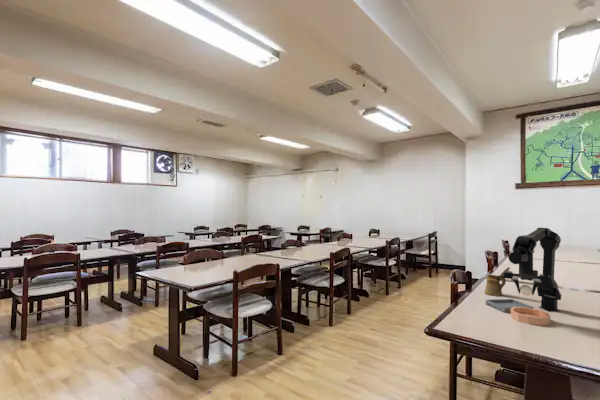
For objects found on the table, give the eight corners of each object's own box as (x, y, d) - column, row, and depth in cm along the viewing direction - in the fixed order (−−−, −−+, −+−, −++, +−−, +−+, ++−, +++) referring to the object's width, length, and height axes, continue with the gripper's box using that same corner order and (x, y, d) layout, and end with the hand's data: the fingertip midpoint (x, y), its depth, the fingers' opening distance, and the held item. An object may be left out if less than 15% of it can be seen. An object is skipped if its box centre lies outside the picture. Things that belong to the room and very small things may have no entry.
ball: (526, 293, 159) (526, 283, 159) (535, 296, 154) (535, 286, 155) (517, 294, 159) (517, 283, 159) (525, 297, 154) (525, 286, 154)
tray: (512, 303, 179) (512, 299, 179) (533, 311, 165) (533, 307, 165) (485, 304, 177) (485, 299, 177) (504, 312, 163) (504, 307, 163)
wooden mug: (506, 298, 188) (506, 268, 188) (482, 293, 198) (482, 264, 199) (512, 296, 193) (512, 266, 194) (488, 291, 204) (488, 263, 204)
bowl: (531, 313, 162) (531, 306, 162) (558, 324, 147) (558, 317, 147) (503, 314, 160) (503, 307, 160) (528, 325, 145) (528, 318, 145)
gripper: (503, 262, 155) (503, 295, 155) (551, 267, 145) (552, 301, 145) (503, 259, 165) (503, 290, 164) (549, 263, 154) (549, 295, 154)
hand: (526, 294), depth 157 cm, fingers closed on ball, 5 cm apart
